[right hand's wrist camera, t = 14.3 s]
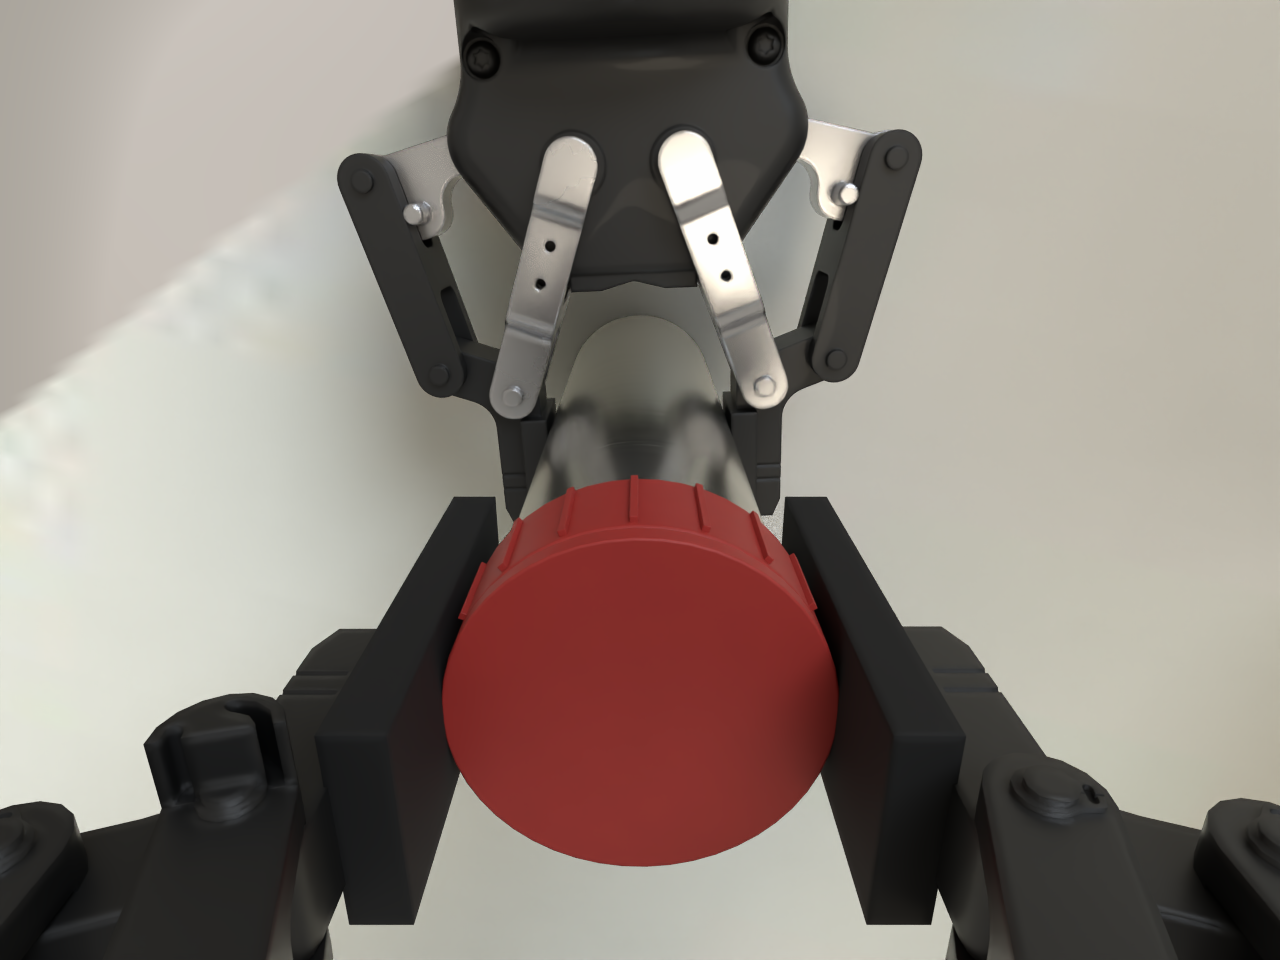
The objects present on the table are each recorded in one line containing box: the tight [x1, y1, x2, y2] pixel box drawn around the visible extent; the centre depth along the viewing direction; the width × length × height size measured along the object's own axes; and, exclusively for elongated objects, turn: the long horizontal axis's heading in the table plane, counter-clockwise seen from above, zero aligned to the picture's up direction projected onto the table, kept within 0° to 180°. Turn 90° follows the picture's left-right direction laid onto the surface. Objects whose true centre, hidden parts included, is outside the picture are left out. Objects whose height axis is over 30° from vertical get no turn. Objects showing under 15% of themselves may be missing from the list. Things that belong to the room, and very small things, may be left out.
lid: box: [442, 475, 839, 867], centre depth 11 cm, size 5×6×2 cm
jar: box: [519, 315, 764, 525], centre depth 19 cm, size 5×5×18 cm
